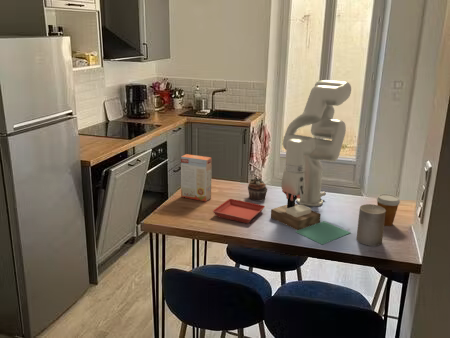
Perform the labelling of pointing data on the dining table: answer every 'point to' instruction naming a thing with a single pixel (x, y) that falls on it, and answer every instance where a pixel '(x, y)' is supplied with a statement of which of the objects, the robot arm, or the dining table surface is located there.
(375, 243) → the pillar candle
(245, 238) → the dining table surface
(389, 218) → the disposable coffee cup
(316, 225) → the mat
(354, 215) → the dining table surface
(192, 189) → the cracker box
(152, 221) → the dining table surface
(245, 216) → the plant saucer
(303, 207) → the beige flat block
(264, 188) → the cupcake
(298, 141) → the robot arm
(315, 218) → the brown flat block
